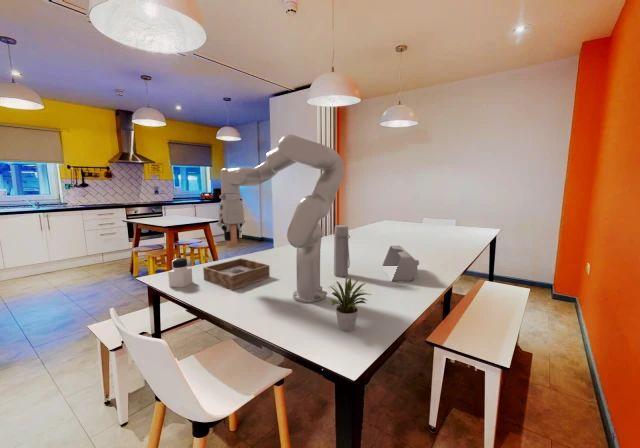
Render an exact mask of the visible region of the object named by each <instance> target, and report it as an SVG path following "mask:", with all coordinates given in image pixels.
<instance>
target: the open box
mask: <svg viewBox="0 0 640 448" xmlns="http://www.w3.org/2000/svg"><path fill="white" fill-rule="evenodd" d="M237 266H243V267H247V268H250V269H252V270H249V271H246V272H242V273H239V274H235V275H232V276H231V275H228V274H225V273H222V272H219V271H222V270H226V269H229V268H233V267H237ZM202 270H203V271H202V272H203V280H204V281H206V282H210V283H212V284H214V285H217V286H220V287H223V288H225V289H228V290H230V291H233V290H235V289H238V288H242V287H245V286H247V285H250V284H251V285H252V284H253V283H257V282H260V281H262V280H265V279H268V278H270V265H269V264H266V263H261V262H258V261H255V260H251V259H247V258H244V257H243V258H242V257H240V258H237V259H233V260H229V261H225V262H221V263H220V262H219V263H216V264H212V265H208V266H203V269H202Z"/></svg>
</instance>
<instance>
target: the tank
mask: <svg viewBox="0 0 640 448" xmlns="http://www.w3.org/2000/svg"><path fill="white" fill-rule="evenodd" d="M419 265H420V260H419V259H415V257H413V256H412V255H411V254H410V253H409V252H408V251H407V250H405V248H403V247H402V246H401V245H390V246H389V248H388V250H387V254H386V256H385V258H384V260H383V263H382V266H398V267H397V269H396V272H395V274H394V277H393V279H392V281H391V282H399V281H411V282H412V281H413V280H414V278H415V277H416V276H417V275H418V267H419ZM382 266H381V267H382Z"/></svg>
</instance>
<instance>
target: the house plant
mask: <svg viewBox="0 0 640 448" xmlns="http://www.w3.org/2000/svg"><path fill="white" fill-rule="evenodd" d="M358 281H359V279H358V280H356V281H355V282H354V283H352V277H350V278H349V279H348V277H346V278H345V283H344V288H343V287H342V285H341V283H340V282H338V281H336V283H335V282H334V284H336V285H337V286H338V288H339V289H337V288H336V287H335V285H333V284H332V285H329V288H330V289H332V290H333V291H334V292H332V293H331V294H332V295H333V296H335V298H337V299H338V300H339V301H337V300H334V299H332V300H331V302H330V304H331V306H334V305H337V306H336V308H335V312H336V313H335V314H336V320H337V324H338V325H337V326H338V329H339V330H340V331H342V332H352V331H354V330H355V329H354V328H356V324H357V323H356V322H357V318H358V313H359V309H358V307H357V306H356V305H357V304H366V305H367V303H366V302H368V299H366V298H364V297H360V296H364V295H369V296H370V295H372V293H367V292H365V291H363V289H361V288H362V287H363V286H364V285H366V284H367V282H366V283H365V282H364V283H362V284H360V285H359V286H358V287H356V288H355V290H354V291H353V289H354V287H355V286H356V284H357V283H358ZM339 290H340V291H339Z"/></svg>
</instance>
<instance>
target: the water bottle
mask: <svg viewBox="0 0 640 448" xmlns="http://www.w3.org/2000/svg"><path fill="white" fill-rule="evenodd" d="M333 236H334V238H333V239H334V240H333V241H334V242H333V252H334V253H333V270H334V271H333V275H334V276H335V277H339V278H344V277H348V275H349V268H350V248H349V239H350V238H351V236H350V235H349V227H348V225H344V224H342V225H341V224H339V225H337V224H336V225H335V226H334V232H333Z"/></svg>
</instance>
